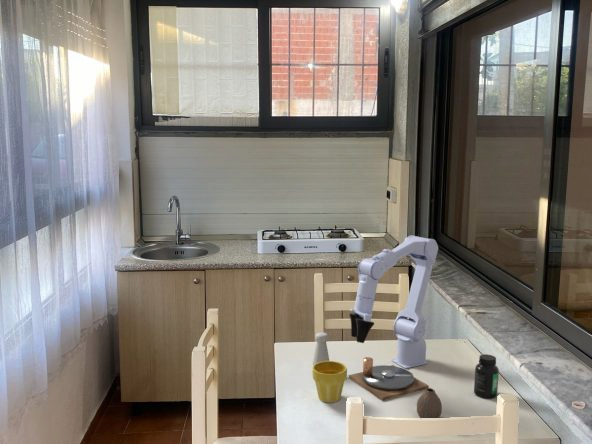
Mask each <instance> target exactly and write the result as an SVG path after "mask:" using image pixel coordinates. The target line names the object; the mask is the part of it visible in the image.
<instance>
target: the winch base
mask: <svg viewBox="0 0 592 444" xmlns="http://www.w3.org/2000/svg"><path fill="white" fill-rule="evenodd" d="M390 366H395V367H397V366H396V365H394V364H392V365H390ZM348 379H349V380H350V381H352V382H354V383H355V384H357V385H358V386H360V387H361V388H363V389H364V390H365V391H367V392H369V394H371V395H373V396H374V397H376V398H377V399H378V400H380V401H381V402H383V401H386V400H390V399H394V398H398V397H402V396H407V395H409V394H414V393H417V392H421V391H425V390H426V389H427V388H430V385H428V384H426V382H423V381H422V380H420V379H418V378H416V377H414V383H413V384H412V385H411V386H410V387H408V388H406V389H402V390H383V389H378V388H375V387H372V386H370V385H368V384H367V383H365V382H364V380H363V371H361V372H356V373H351V374H349V375H348Z"/></svg>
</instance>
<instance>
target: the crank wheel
mask: <svg viewBox="0 0 592 444" xmlns="http://www.w3.org/2000/svg"><path fill="white" fill-rule="evenodd" d="M362 363H363V365H362V367H363V369H362V372H363V380H364V382H365V383H367V384H368V385H370V386H372V387H375V388H378V389H383V390H402V389H406V388H408V387H410V386H411V385H412V384H413V383H414V374H413V373H412V372H411V371H409V370H407V369H406V368H404V367H401V366H400V367H399V366H396V365H394V366H391V365H386V364H384V365H383V364H382V365H381V364H380V365H374V359H373V357H370V356H368V357H367V356H366V357H365V356H364V357H363V362H362ZM395 366H396V367H395Z"/></svg>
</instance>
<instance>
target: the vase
mask: <svg viewBox="0 0 592 444" xmlns="http://www.w3.org/2000/svg"><path fill="white" fill-rule="evenodd" d="M442 412H443V405H442V402H441V399H440V397H439V395H438V394H437V393H436V391H435V389H434V388H431V387H429V388H427V389H425V390H424V392H422V394H421V395H420V396H419V397H418V399H417V402H416V413H417V415H418V417H419V419H421V418H439V419H440V417H441V416H442Z"/></svg>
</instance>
